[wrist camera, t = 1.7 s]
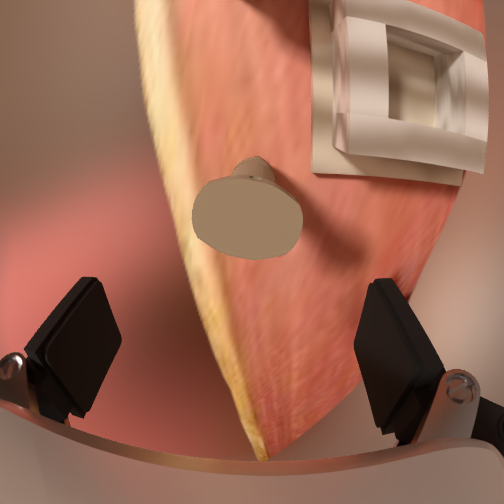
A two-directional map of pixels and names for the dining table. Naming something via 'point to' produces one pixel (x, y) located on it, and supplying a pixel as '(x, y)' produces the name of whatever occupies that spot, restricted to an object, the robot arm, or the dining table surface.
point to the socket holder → (396, 91)
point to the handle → (248, 213)
